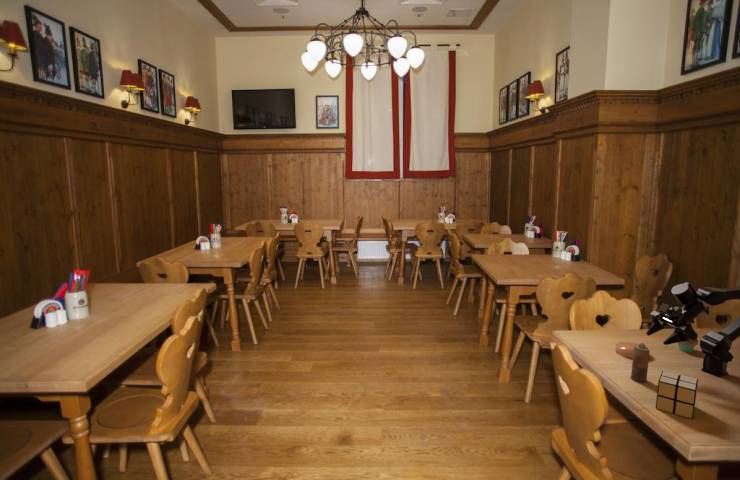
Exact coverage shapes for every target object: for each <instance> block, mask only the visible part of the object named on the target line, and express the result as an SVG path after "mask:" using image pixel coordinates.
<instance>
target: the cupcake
mask: <svg viewBox="0 0 740 480" xmlns="http://www.w3.org/2000/svg"><path fill="white" fill-rule="evenodd" d="M676 344H677V345H678V349H679V350H680V351H682V352H685V353H691V352H693V351H694V349H695V348H696V346H698V345H699V339H698V338H697V339H696V340H694V341H691V340H690V341H683V342H677V343H676Z"/></svg>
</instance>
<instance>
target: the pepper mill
mask: <svg viewBox="0 0 740 480" xmlns="http://www.w3.org/2000/svg"><path fill="white" fill-rule="evenodd" d="M650 352H651V351H650V350H649V348H648V347H647V346H646V343H643V342H641V343H639V345H637V346H636V347H634V351H633V359H632V362H631V363H632V364H631V375H630V379H631V381H634V382H636V383H639V384H644V383H645V384H646V383H647V380H648V372H649V371H648V368H649V360H650Z"/></svg>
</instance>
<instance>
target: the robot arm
mask: <svg viewBox="0 0 740 480" xmlns="http://www.w3.org/2000/svg"><path fill="white" fill-rule="evenodd" d="M670 291H671V293H672V295H673V296H674V297H675V298H676V300H677V301H678V304H679V303H680V304H681V305H682V306H679V307H678V306H671V305H668V304H666V303H664V302H662V303H661V305H660V306H659V308H658V310H652V311H651V312H650V313H649V315H650V317H651V318H650V319H651V324H650V325H649V327H648V329H647V331H646V333H645V334H646V336H648V337H649V336H651V335H653V334H656V333H657V332H660V331H662V330H663V329H665V327H667V326H669V327H671V328H674V330H673V332H672V334H670V336H668V337H667V338H666V339H665V340H664V341H663V342H662V345H664V346H669V345H671V344H672V345H673V344H678V343H677V342H683V341H690V340H691V341H694V340H696V339H698V336H699V334H698V332H696V331H695V330H694V328H693V327H692V326H691V325H689V324H695V323H696V322H695V319H696V318H698V317H699V316H700V315H702V314H705V315H710V310H709V309H710V307H709V306H712V307H714V306H720V305H722V304H724V303H725V302H726V301H733V300H740V285H739V286H733V287H725V288H723V287H722V288H718V287H711V286H700V287H698V289H695V288H693V285H692V284H691V282H687V281H685V282H684V283H679V284H677V285H674V286H673V287H672V288H671V290H670ZM705 304H706V305H709V306H706V305H705ZM738 338H740V316H739V317H738V318H736V319H735V320H734V321H731V323H729V324H728V325H727V326H726V327H724V328H723V329H722V330H721V331H718V332H715V331H714V330H710V331H708V332H707V333H706V334H705V335H702V336H701V339H700V340H699V348H700V349H701V354H705V355H704V357H703V361H702V368H700V370H701V371H702V372H706V373H708V374H710V375H713V376H716V377H723V376H726V375H729V374H730V373H729V371H727V368H728V363H729V362H730V363H731V362H733V359H734V357H735V356H734V355H733V353H732V352H730V350H731V348H732V344H733V342H734V341H735V340H737V339H738Z"/></svg>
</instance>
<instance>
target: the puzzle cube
mask: <svg viewBox="0 0 740 480" xmlns="http://www.w3.org/2000/svg"><path fill="white" fill-rule="evenodd" d="M698 383H699V379H698V378H696V377H691V376H687V375H682V374H681V375H680V374H679V373H674V372H670V371H666V370H662V371H661V373H660V375H659V379H658V383H657V391H656V400H655V401H656V402H655V409H656V410H660V411H662V412H666V413H669V414H674V415H677V416H680V417H684V418H687V419H690V420H693V419H694V415H695V408H696V400H697V392H698Z"/></svg>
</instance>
